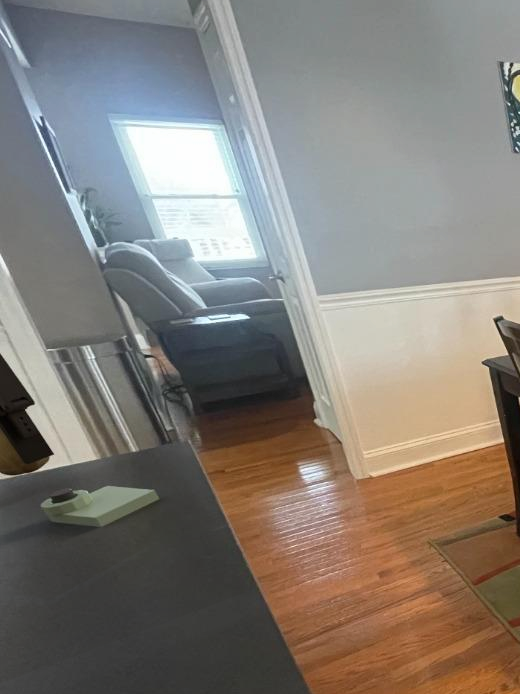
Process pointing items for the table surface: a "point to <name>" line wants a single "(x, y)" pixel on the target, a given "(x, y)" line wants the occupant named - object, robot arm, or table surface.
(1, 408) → the robot arm
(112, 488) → the scale
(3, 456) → the fennel bulb
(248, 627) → the table surface
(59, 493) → the scale button
